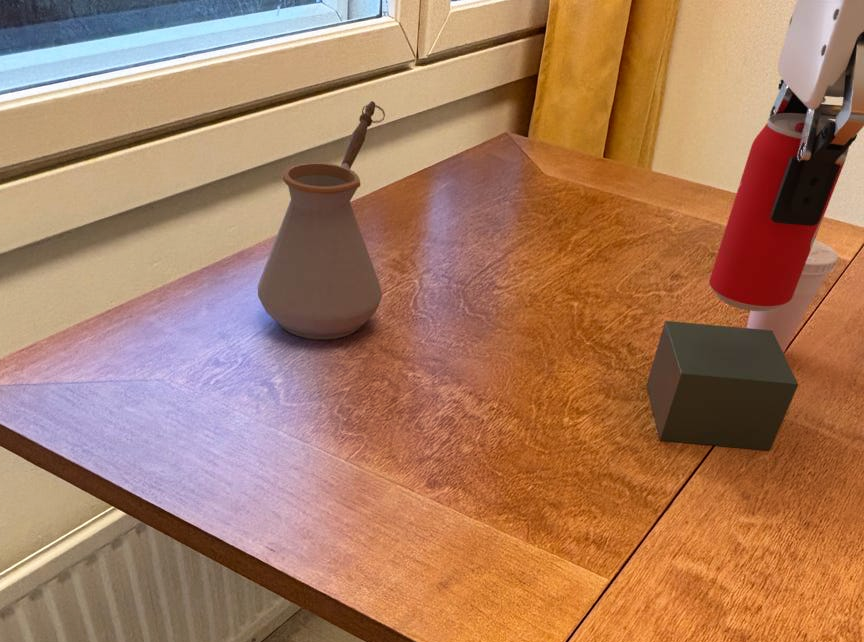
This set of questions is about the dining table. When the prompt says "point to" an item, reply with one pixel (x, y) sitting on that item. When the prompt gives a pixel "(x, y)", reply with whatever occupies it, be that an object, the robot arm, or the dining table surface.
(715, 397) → the riser block
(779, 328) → the smoothie
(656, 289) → the dining table surface
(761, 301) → the beverage can
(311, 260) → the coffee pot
